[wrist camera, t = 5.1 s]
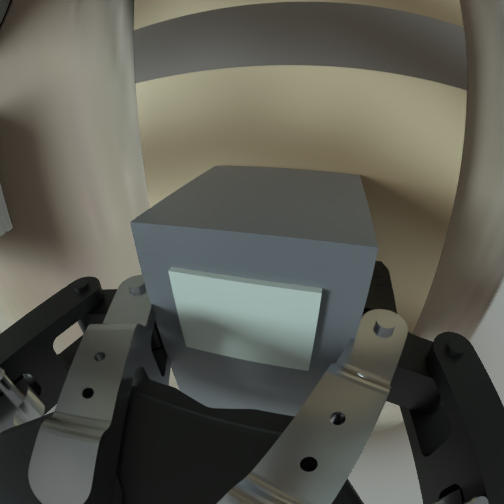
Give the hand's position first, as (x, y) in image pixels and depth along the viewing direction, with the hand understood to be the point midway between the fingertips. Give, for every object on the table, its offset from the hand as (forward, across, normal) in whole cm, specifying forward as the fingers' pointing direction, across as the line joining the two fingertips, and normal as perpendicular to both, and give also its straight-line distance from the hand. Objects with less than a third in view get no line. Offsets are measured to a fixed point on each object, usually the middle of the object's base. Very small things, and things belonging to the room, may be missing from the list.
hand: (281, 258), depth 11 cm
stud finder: (0, 0, 0) cm, 0 cm away
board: (+1, 0, -3) cm, 4 cm away
